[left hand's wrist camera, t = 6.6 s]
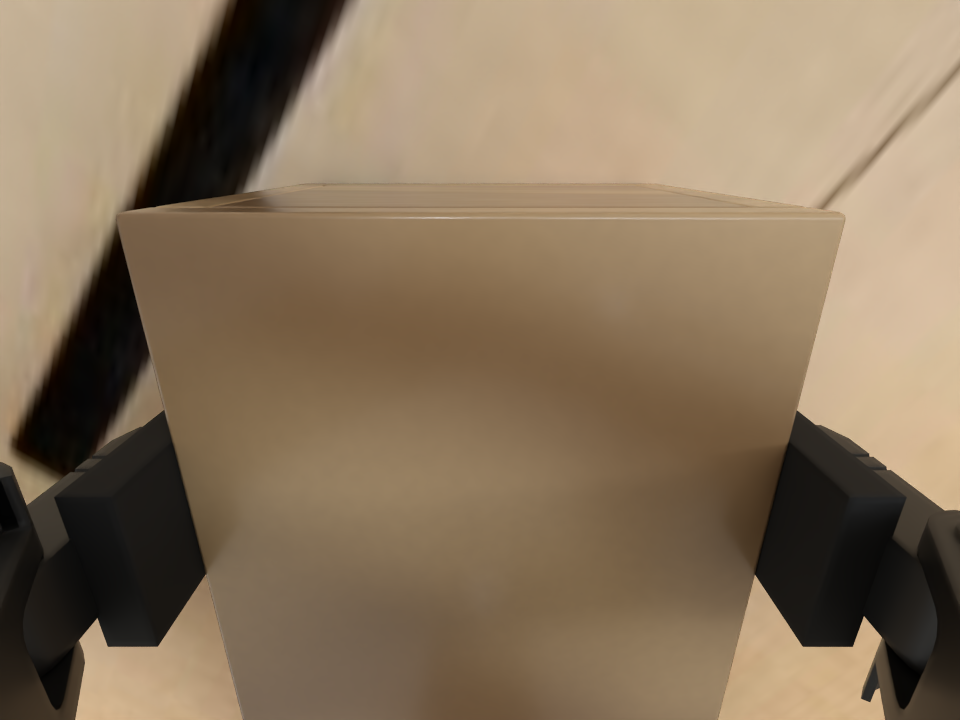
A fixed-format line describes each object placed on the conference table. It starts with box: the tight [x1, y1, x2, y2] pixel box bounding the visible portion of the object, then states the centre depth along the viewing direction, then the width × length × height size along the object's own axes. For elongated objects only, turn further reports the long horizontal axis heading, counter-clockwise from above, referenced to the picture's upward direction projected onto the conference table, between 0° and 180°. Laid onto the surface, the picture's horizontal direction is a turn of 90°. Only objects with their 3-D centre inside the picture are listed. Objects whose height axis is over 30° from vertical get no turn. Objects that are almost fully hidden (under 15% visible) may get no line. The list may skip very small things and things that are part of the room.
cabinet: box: [116, 184, 845, 720], centre depth 14 cm, size 21×10×8 cm, turn 0°
